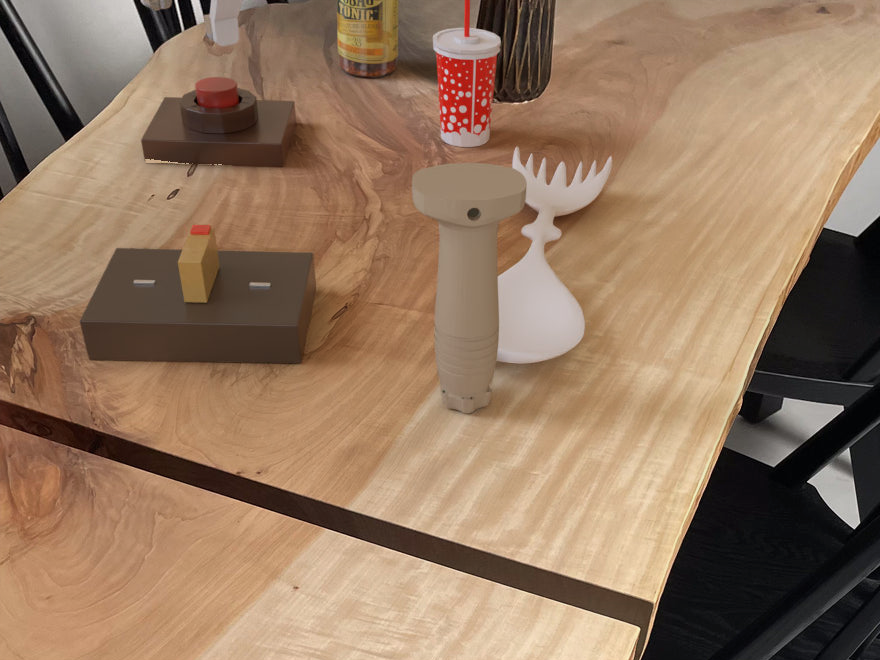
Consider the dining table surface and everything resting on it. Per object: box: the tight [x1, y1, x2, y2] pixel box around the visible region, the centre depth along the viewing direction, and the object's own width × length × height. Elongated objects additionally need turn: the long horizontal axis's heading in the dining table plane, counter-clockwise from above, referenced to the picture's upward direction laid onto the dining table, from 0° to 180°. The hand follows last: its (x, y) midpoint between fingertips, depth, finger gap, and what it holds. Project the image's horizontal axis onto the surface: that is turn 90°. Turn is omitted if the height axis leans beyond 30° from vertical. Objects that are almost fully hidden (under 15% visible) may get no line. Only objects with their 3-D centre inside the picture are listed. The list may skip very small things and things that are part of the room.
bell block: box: [140, 87, 297, 168], centre depth 99 cm, size 12×10×4 cm
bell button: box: [194, 76, 239, 109], centre depth 97 cm, size 4×4×2 cm
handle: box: [411, 162, 527, 414], centre depth 66 cm, size 5×6×15 cm
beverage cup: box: [432, 0, 502, 148], centre depth 99 cm, size 6×6×14 cm
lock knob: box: [178, 224, 219, 303], centre depth 74 cm, size 5×2×3 cm, turn 2°
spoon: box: [496, 145, 613, 364], centre depth 84 cm, size 9×32×3 cm, turn 172°
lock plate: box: [79, 247, 317, 364], centre depth 76 cm, size 14×10×3 cm
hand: (189, 24), depth 79 cm, fingers open, 8 cm apart
